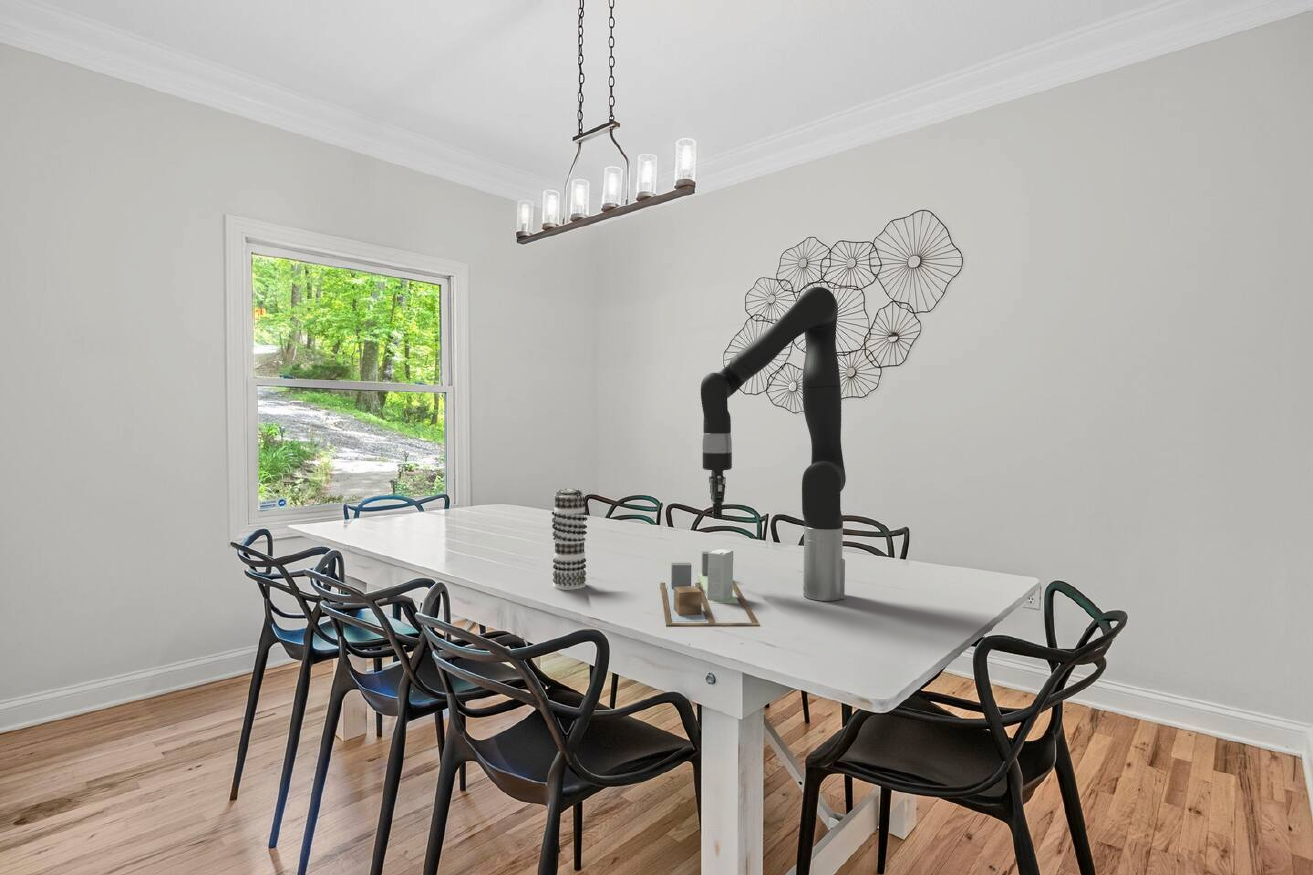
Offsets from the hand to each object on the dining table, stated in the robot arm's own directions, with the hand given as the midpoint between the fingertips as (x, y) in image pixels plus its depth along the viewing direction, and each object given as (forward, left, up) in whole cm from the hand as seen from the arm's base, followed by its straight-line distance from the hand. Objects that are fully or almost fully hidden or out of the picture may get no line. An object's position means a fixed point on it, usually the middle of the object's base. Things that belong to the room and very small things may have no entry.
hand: (717, 518), depth 175 cm
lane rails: (+5, +18, -18) cm, 26 cm away
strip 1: (+10, +18, -18) cm, 27 cm away
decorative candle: (+38, -2, -18) cm, 42 cm away
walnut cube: (+10, +26, -17) cm, 33 cm away
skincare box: (+1, +15, -18) cm, 23 cm away
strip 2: (+1, +4, -18) cm, 18 cm away
